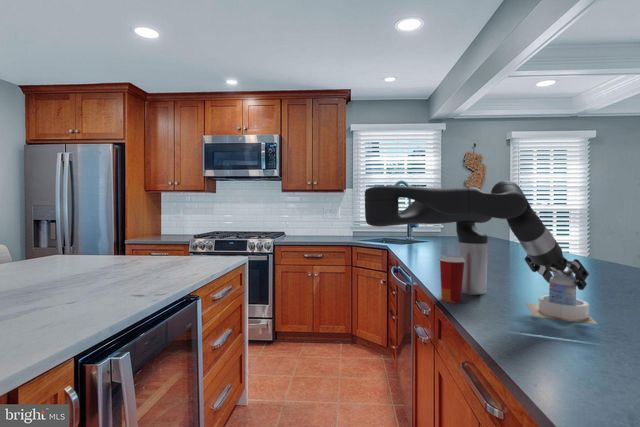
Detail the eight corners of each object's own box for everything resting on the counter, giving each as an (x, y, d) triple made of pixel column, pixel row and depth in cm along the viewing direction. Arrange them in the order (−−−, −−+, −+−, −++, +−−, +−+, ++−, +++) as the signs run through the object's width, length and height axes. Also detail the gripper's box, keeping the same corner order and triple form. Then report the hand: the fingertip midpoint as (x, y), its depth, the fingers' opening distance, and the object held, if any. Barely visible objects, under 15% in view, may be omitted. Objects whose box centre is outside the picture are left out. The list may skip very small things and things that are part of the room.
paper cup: (464, 299, 111) (465, 255, 111) (463, 305, 104) (464, 258, 104) (439, 296, 114) (439, 253, 114) (436, 301, 107) (437, 256, 107)
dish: (543, 316, 93) (543, 303, 93) (535, 305, 103) (536, 293, 103) (593, 322, 89) (594, 308, 89) (580, 310, 99) (581, 297, 99)
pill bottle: (543, 307, 99) (544, 267, 98) (563, 306, 99) (564, 267, 99) (560, 313, 92) (561, 271, 92) (581, 313, 93) (582, 271, 93)
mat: (533, 318, 93) (533, 316, 93) (525, 304, 106) (525, 302, 105) (597, 326, 87) (597, 324, 87) (581, 310, 100) (581, 308, 100)
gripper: (507, 251, 97) (535, 288, 102) (559, 258, 84) (588, 301, 89) (521, 231, 99) (548, 269, 104) (574, 236, 86) (601, 279, 90)
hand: (566, 284), depth 96 cm, fingers open, 8 cm apart
